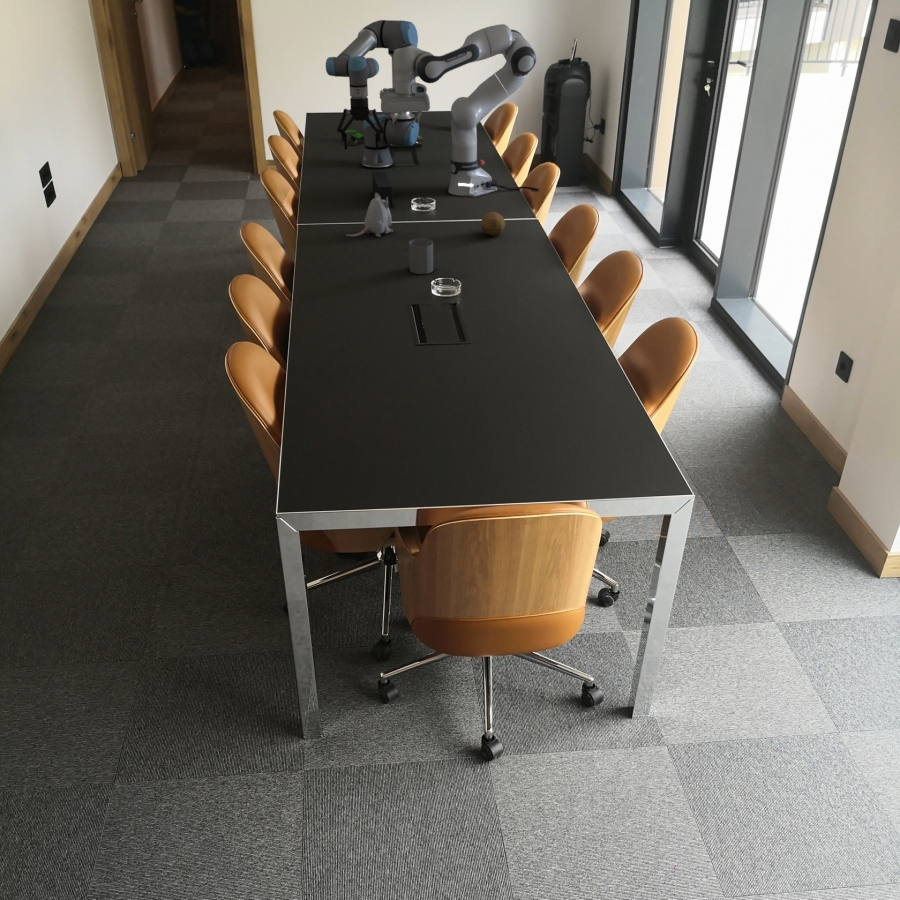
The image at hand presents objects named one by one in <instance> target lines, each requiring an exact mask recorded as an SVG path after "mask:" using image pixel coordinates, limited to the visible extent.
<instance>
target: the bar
mask: <svg viewBox="0 0 900 900" xmlns="http://www.w3.org/2000/svg"><path fill="white" fill-rule="evenodd" d="M371 181H372V194H373V196H374V197H375V193H377V194H378V195H379V196H380V198H381V200H385V201H386V198H387V197H388V204H389V209H393V208H394V207H393V205H394V204H393V186H392V184H391V182H390V180H389V177H388V175H387V173H386V171H372V172H371Z"/></svg>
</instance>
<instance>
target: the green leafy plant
mask: <svg viewBox="0 0 900 900" xmlns="http://www.w3.org/2000/svg"><path fill="white" fill-rule="evenodd" d="M349 132H352V133H351V134H349V136H350V138H349V140H350V141H353V142H348V141H347V146H348V145H349V146H356V145H358V144H360V143H362V142H365V141H364V133H362V132H359V131H358V130H357V129H346V131H345V133H346V134H347V133H349ZM340 142H342V143H344V141H342V139H340Z"/></svg>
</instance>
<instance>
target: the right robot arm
mask: <svg viewBox="0 0 900 900" xmlns="http://www.w3.org/2000/svg"><path fill="white" fill-rule="evenodd" d="M532 47H533V46H531V44H530V42H529V41H528V40H527V39H526V38H525V37H524V36H523V35H522V33H521V32H519V31H518V30H516V29H511V28H510V27H509V26H508V25H507V24H504V23H501V24H494V25H490V26H486V27H483V28H480V29H478V30H476V31H474V32H473V31H472V33H470V34H469V35H467V36H466V38H465V39H464V42H463V44H462V46H461V45H460V47H459V48H457V49H454V50H452V51H450V52H447V53H445V54H442V55H435V54H433V53H431V52H430V51H426V50H423V49H421V48H419V47H418V46H417V47H415V46H414V45H413V44H411V43H404V44H400V45H398V46H397V47H396V48H395V49H394V55H393V69H394V73H395V75H394V88H392V87H387V88H386V87H384V88H383V89H381V90H380V91H379V99H380V111H381V112H382V113H383V114H389V117H390V116H391V118H392V121H393V124H397V122H396V119H394V118H393V116H392V115H394V112H411V113H417V115H416V117H414V120H415V123H418V124H420V118H421V116H422V115H423V114H422V112H429V111H430V109H431V101H430V96H429V94H428V93H427V92H428V87H427V86H426V85H425V84H426V83H427V84H434V83H436V82H438V81H439V80H440V79H441V78H442V77H444V75H445V74H447V73H449V72H452V71H454V70H457V69H458V68H461V67H463V66H466V65H468V64H471V63H475V62H479V61H484V60H487V59H490V58H493V57H495V56H497V55H502V56H503V58H504V59H505V63H504V65H503V66H502V67H501V68H500V69H498V70H497V71H495V72H494V73H493V74H492V75H491V76H489V77H487V78H486V79H485V80H484V81H482V82H481V83H480V84H479V85H478V86H477V87H476V88H475V89H474V90H473V92H472V93H471V94H469V95H468V96H459V97H457V98H456V99H455V100H454V101H453V102H452V104H451V107H450V125H451V126H450V127H451V128H450V129H451V130H450V132H451V158H450V179H449V180H450V181H449V186H448V189H447V192H448V193H449V194H451V195H454V196H459V197H460V196H461V197H471V198H474V197H475V198H476V197H478V196H482V195H486V194H490V193H495V192H497V191H498V188H502V189H504V190H508V191H509V190H510V191H516V190H517V191H518V190H522V189H523V190H524V189H525V190H532V191H535V192H536V191H537V192H540V189H539V188H537V187H532V186H524V185H523V186H517V187H508V186H505V185H502V184H498V181H497V180H495V179H493V178H492V176H491V175H490V174H489V173H488V172H487V171H486V170H484V169H483V168H482V167H481V166H484V165H485V160H483V159H478V137H477V136H478V135H477V133H478V132H477V125H478V124H479V123H481V121H483V120H484V118H485V117H487V116H488V115H489V113H491V111H493V110H494V109H495V108H496V107H498V105H499V104H501V103H502V102H504V101H505V100H506V99H507V98H509V97H510V96H511V95H513V94H514V93H515V92H516V91H517V90H519V88H520V87H521V86H522V85H523V84H524V83H525V82H526V79H527V75H528V74H530V72H531V71H532V70H533V69H534V68H535V66H536V64H537V55H536V53H535V50H534V49H533V48H532ZM417 77H419V79H420V80H421V81H422V82H423V83H425V84H423V83H419V82H416V80H417V79H416V78H417Z"/></svg>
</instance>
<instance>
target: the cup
mask: <svg viewBox="0 0 900 900" xmlns="http://www.w3.org/2000/svg"><path fill="white" fill-rule="evenodd" d="M408 253H409V272H411V273H412V274H416V275H426V274H430V273H432V272H434V241H433V240H431V239H428V238H422V237H421V238H420V237H419V238H414V239H411V240H410V241H409V242H408Z"/></svg>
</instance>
